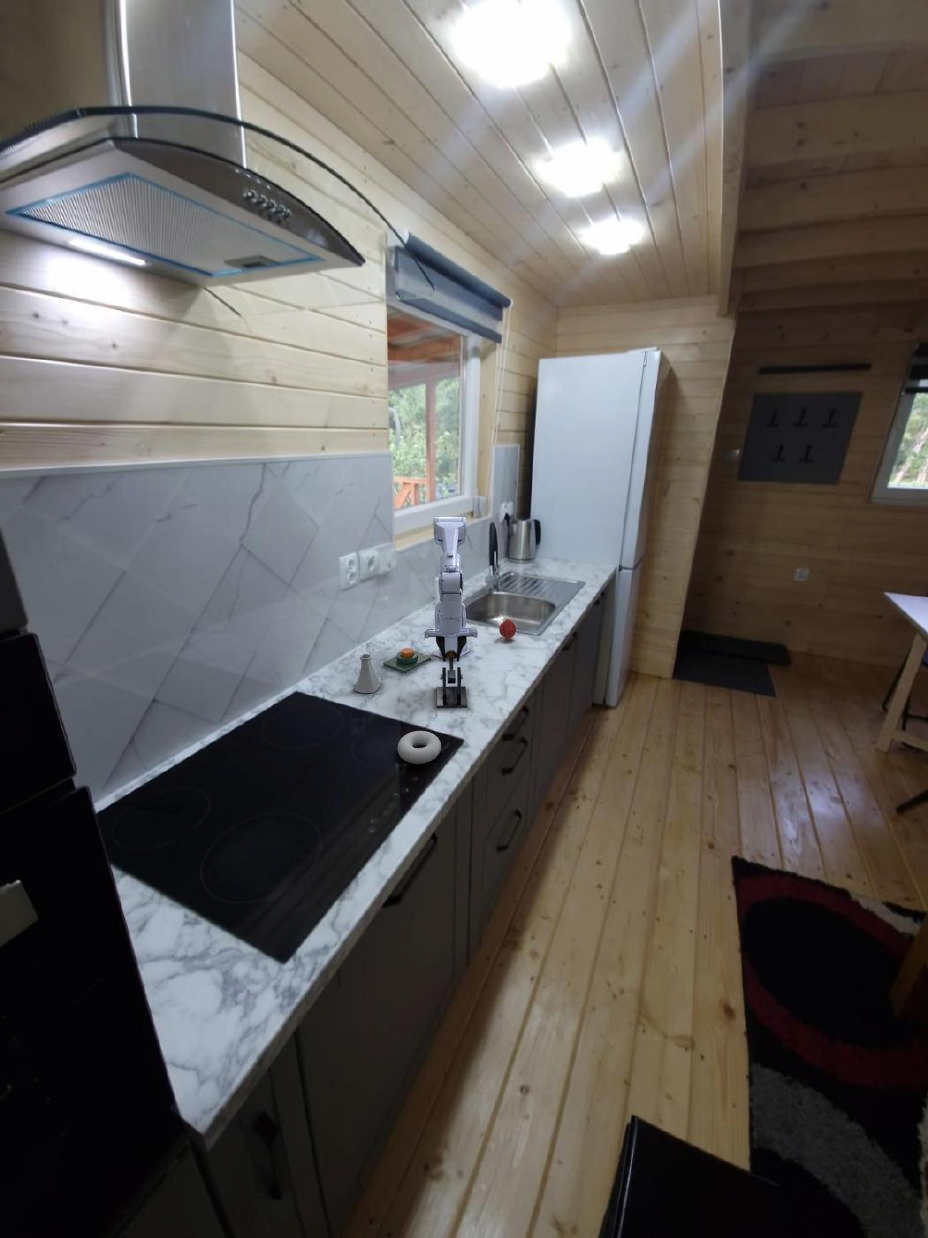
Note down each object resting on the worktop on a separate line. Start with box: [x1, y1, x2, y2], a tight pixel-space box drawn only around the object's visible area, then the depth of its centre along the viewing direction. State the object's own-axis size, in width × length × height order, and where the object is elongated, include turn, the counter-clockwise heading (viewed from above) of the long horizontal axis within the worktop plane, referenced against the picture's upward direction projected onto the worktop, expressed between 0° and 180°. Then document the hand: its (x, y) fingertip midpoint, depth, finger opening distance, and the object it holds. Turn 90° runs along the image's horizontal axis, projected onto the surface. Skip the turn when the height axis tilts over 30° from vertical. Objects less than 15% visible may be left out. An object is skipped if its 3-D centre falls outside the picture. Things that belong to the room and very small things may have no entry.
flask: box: [354, 653, 381, 694], centre depth 139 cm, size 7×7×10 cm
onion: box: [498, 618, 517, 641], centre depth 170 cm, size 6×6×8 cm
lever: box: [445, 650, 457, 685], centre depth 135 cm, size 11×3×3 cm, turn 3°
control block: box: [383, 650, 431, 674], centre depth 154 cm, size 12×9×3 cm
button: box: [400, 647, 414, 658], centre depth 153 cm, size 4×4×2 cm
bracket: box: [436, 666, 468, 709], centre depth 133 cm, size 10×8×9 cm
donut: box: [397, 730, 442, 765], centre depth 113 cm, size 10×4×10 cm
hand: (451, 660), depth 139 cm, fingers closed on lever, 3 cm apart
